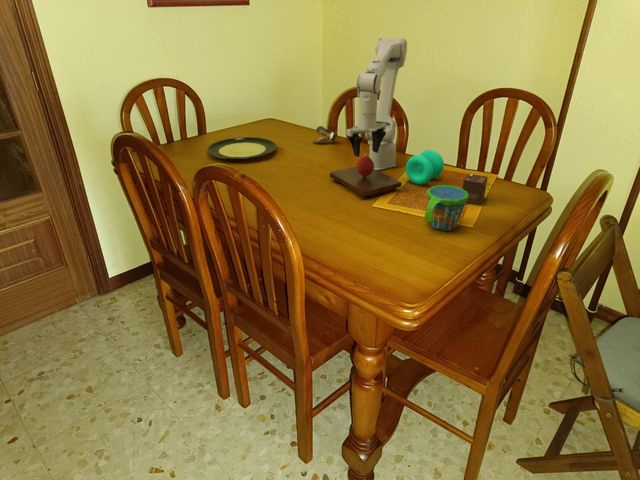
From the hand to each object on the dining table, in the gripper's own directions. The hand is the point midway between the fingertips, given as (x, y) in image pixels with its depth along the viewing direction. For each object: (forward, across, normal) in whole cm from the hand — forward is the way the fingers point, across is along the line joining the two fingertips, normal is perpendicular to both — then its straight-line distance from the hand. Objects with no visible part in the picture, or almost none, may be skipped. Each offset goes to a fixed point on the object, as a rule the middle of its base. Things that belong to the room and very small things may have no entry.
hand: (366, 153), depth 150 cm
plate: (+10, -24, +52) cm, 58 cm away
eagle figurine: (+8, +15, +42) cm, 45 cm away
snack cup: (+10, -1, -38) cm, 40 cm away
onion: (+7, -2, -3) cm, 8 cm away
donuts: (+10, +17, -10) cm, 22 cm away
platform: (+10, -2, -3) cm, 10 cm away
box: (+10, +19, -30) cm, 37 cm away
